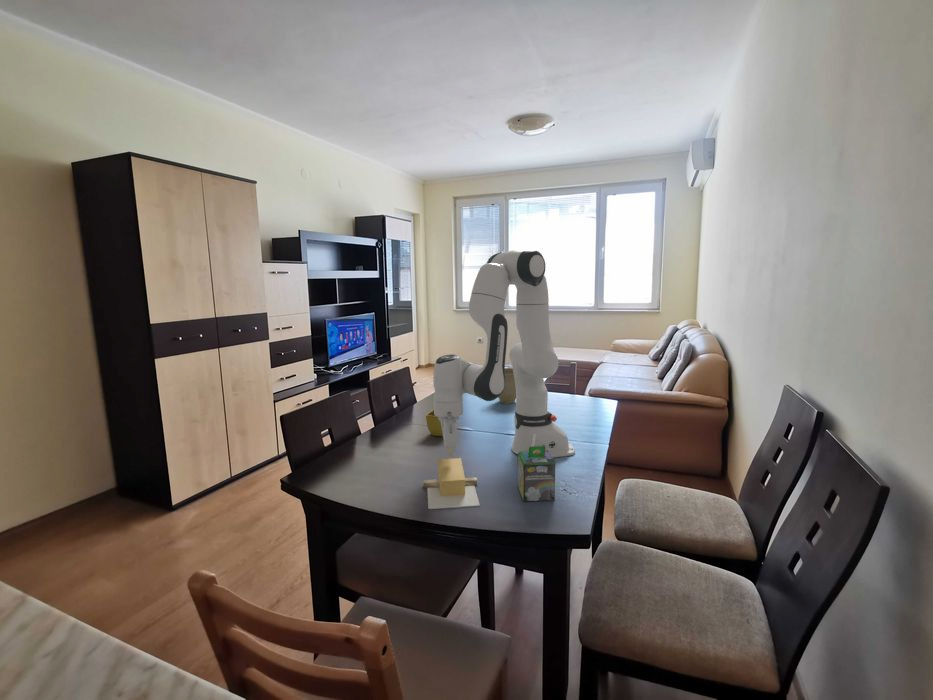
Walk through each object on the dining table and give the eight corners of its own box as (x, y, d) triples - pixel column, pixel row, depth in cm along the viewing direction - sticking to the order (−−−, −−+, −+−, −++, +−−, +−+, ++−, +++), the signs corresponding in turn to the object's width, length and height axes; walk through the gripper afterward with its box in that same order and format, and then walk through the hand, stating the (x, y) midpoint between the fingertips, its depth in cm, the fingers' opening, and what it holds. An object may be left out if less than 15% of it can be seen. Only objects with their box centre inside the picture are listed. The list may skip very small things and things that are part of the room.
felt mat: (474, 486, 133) (474, 485, 133) (479, 506, 121) (479, 505, 121) (427, 488, 132) (427, 487, 132) (428, 509, 120) (428, 508, 120)
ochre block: (460, 458, 136) (465, 479, 126) (460, 472, 138) (465, 494, 127) (437, 459, 135) (440, 481, 125) (438, 473, 137) (440, 496, 126)
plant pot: (507, 396, 236) (507, 366, 233) (527, 402, 224) (528, 371, 222) (486, 401, 226) (486, 370, 224) (506, 407, 215) (506, 375, 213)
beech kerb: (476, 481, 136) (476, 477, 136) (477, 484, 134) (477, 480, 134) (423, 484, 134) (423, 480, 134) (424, 487, 132) (423, 483, 132)
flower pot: (446, 439, 173) (445, 416, 172) (425, 436, 176) (425, 414, 174) (454, 431, 181) (453, 410, 180) (434, 429, 184) (433, 408, 183)
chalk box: (548, 486, 133) (549, 438, 130) (555, 501, 124) (556, 450, 121) (517, 487, 132) (517, 439, 130) (522, 502, 123) (523, 451, 121)
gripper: (461, 418, 126) (462, 464, 128) (455, 399, 146) (456, 439, 148) (439, 418, 125) (440, 465, 127) (436, 399, 145) (437, 440, 147)
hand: (448, 451), depth 138 cm, fingers open, 8 cm apart
